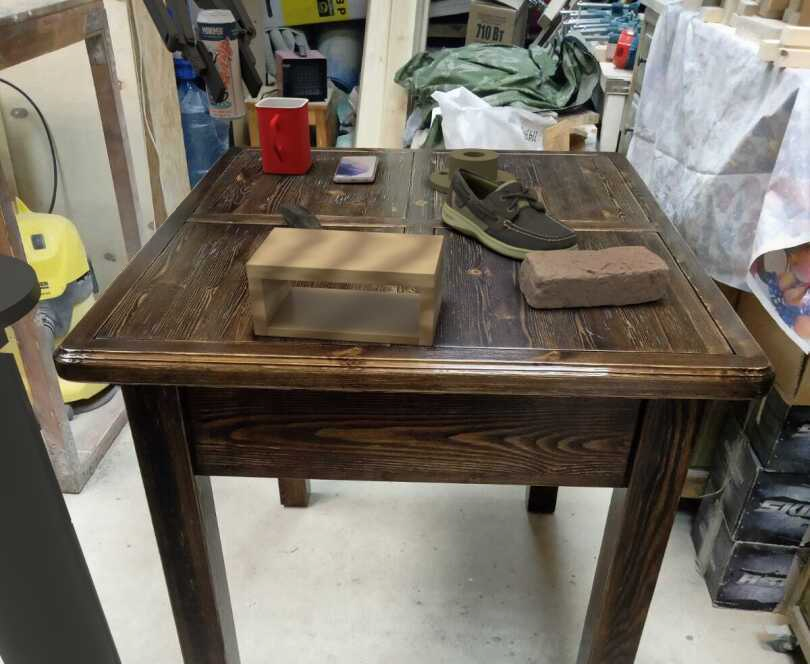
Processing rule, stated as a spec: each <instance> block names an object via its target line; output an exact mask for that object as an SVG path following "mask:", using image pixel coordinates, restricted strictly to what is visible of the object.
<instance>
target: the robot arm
mask: <svg viewBox="0 0 810 664" xmlns="http://www.w3.org/2000/svg"><path fill="white" fill-rule="evenodd" d="M166 1H167V5H168V8H169V9H170V10H171V14H172V15H171V14H170V12H169V10H168V8H167V6H166V3H165V2H164V0H142V2H143V4H144V7H145V8H146V10H147V12H148V14H149V16H150V18H151V21H152V23H153V24H154V26H155V28H156V30H157V32H158V34H159V36H160V38H161V41H162V42H163V44H164V46H165V48H166V49H167V51H168V52H169V53H172V54H174V53H177V52H179V53H180V57H181V59H182V60H183V61H187V62H189V65H190V67H191V68H192V70H193V72H194V74H195V76H197V77H199V78H200V77H202V79H203V81H204V83H205V86H206V85H207V87H208V89H209V91H210V93H211V95H212V97H213V99H214V101H215V103H221V101H222V98H223V95H224V93H225V90H226V87H225V85H224V83H223V81H222V79H221V77H220V75H219V73H218V71H217V69H216V67H215V65H214V63H213V61H212V59H211V57H210V55H209V53H208V51H207V49H206V47H205V45H204V43H203V41H200V40H198V41H196V36H195V32H194V29H193V24H192V20H191V17H190V13H189V9H188V4H187V1H186V0H166ZM192 1H193V2H194V3H195V5H196V6H197V8H198V9H200V10H201V9H202V10H211V9H221V10H230V11H231V13H232V15H233V17H234V19H235V22H236V31H237V40H238V49H239V58H240V67H241V76H242V82H243V83H244V85H245V87H246V89H247V91H248V93H249V95H250V97H251V99H257V98H258V96H259V94H260V92H261V89H262V87H263V85H264V83H263V80H262V78H261V77H260V75H259V72H258V70H257V68H256V67H255V66H256V64H257V60H256V57H255V55H254V53H253V51H252V48H251V47H250V45H251V43H252V40H253V37H254V34H255V32H256V28H255V26H254V24H253V21H252V20H251V18H250V15H249V14H248V12H247V9H246V8H245V5H244V4H243V2H242V0H192Z"/></svg>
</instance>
